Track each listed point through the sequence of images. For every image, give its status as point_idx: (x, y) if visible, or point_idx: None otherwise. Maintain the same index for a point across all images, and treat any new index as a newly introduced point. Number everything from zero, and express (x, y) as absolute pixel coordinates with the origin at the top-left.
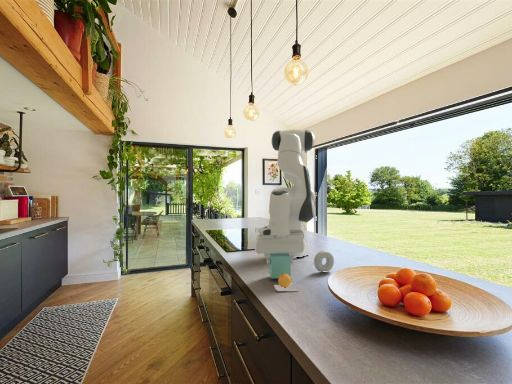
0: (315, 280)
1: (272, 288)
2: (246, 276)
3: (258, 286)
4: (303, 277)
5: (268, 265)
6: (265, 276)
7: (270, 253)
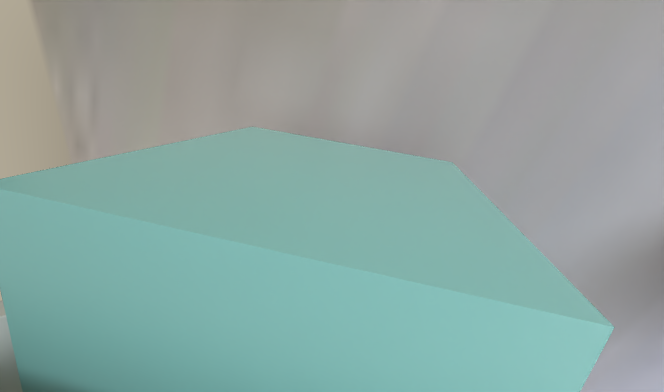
0: (640, 362)
1: None
2: (86, 75)
3: None
4: (586, 258)
5: (217, 134)
6: (243, 122)
7: (29, 369)
